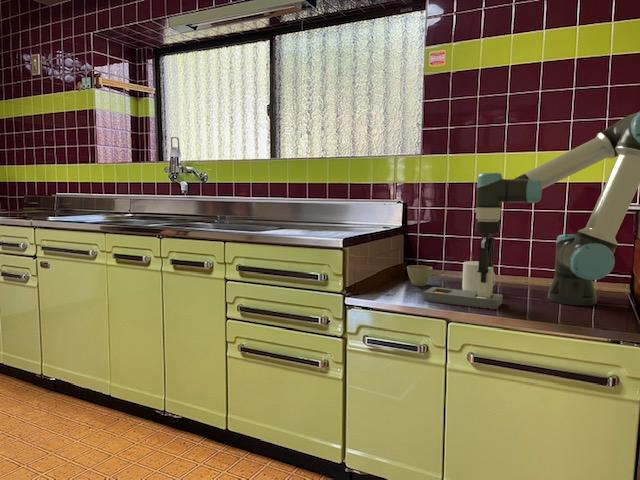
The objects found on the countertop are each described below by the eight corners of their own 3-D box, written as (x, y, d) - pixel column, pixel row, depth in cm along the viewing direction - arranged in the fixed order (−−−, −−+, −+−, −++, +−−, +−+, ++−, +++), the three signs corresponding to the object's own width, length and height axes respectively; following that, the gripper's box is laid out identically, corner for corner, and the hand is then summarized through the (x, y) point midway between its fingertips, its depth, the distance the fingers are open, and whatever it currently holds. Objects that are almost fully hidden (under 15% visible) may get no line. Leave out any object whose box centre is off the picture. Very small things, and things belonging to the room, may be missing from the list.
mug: (491, 295, 176) (493, 266, 175) (458, 291, 182) (460, 263, 181) (498, 291, 183) (499, 263, 182) (466, 287, 190) (467, 260, 188)
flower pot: (431, 288, 188) (431, 269, 187) (405, 286, 191) (405, 268, 190) (432, 283, 197) (433, 265, 197) (407, 281, 200) (408, 264, 199)
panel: (502, 303, 164) (502, 294, 164) (496, 309, 156) (497, 300, 155) (432, 294, 176) (432, 286, 176) (423, 300, 168) (424, 291, 167)
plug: (492, 302, 163) (493, 267, 162) (489, 304, 160) (491, 268, 158) (476, 300, 166) (478, 265, 164) (474, 303, 162) (475, 267, 161)
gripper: (481, 218, 169) (479, 285, 171) (469, 221, 154) (467, 294, 156) (504, 219, 165) (501, 287, 167) (494, 222, 150) (491, 297, 153)
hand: (485, 290), depth 162 cm, fingers closed on plug, 4 cm apart
